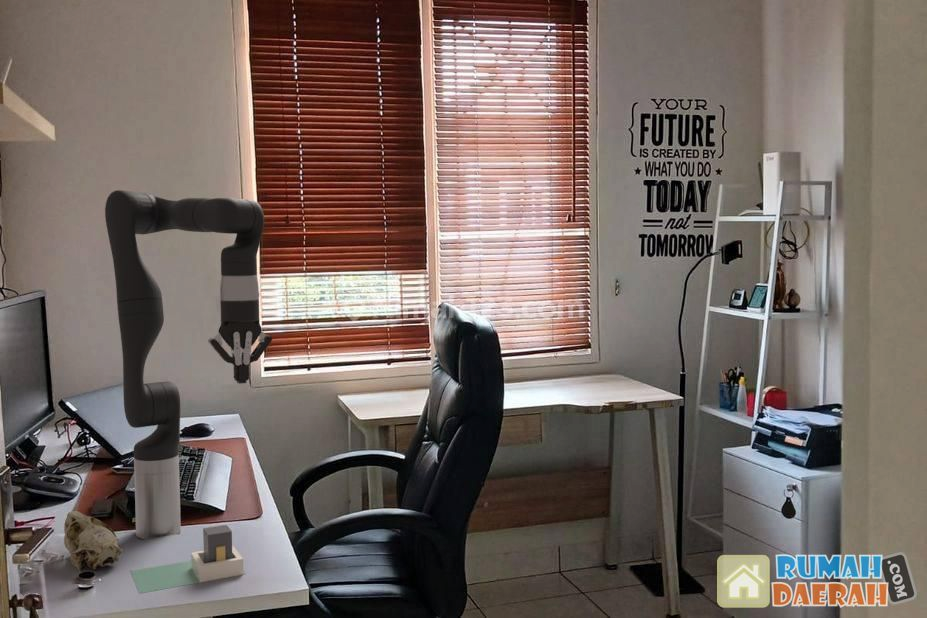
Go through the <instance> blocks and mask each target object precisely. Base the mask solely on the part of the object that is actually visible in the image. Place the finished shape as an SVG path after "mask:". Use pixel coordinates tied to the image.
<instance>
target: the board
mask: <svg viewBox="0 0 927 618" xmlns="http://www.w3.org/2000/svg"><path fill="white" fill-rule="evenodd" d="M130 573H131V576H132V578H133V581H134V584H135V586H136V589H137V591H138V594H139V595H140V594H145V593H151V592H156V591H161V590H167V589H172V588H179V587H182V586H183V587H185V586H189V585H194V584H200V583H201V582H199V580H198V578H197V577H196V575H195V573H194V571H193V570H192V567H191V560H187V561H181V562H175V563H170V564H163V565H158V566H152V567H147V568H140V569H135V570H131V571H130ZM246 574H247V573H246V572H245V571H244V569H243V574H242V575H241V576H244V575H246ZM238 576H239V575H237V576H236V577H238ZM232 577H234V576H232ZM232 577H231V578H232ZM227 578H229V577H226V578H225V579H227ZM221 579H223V578H221ZM221 579H220V580H221ZM215 580H218V579H215ZM215 580H214V581H215ZM211 581H212V580H210V581H209V582H211ZM205 582H207V581H204V582H203V583H205Z"/></svg>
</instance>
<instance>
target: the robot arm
mask: <svg viewBox="0 0 927 618" xmlns="http://www.w3.org/2000/svg"><path fill="white" fill-rule="evenodd" d="M104 207H105V208H104V216H105V224H106V230H107V231H106V232H107V235H108V241H109V245H110V250H111V255H112V261H113V270H114V271H113V272H114V277H115V278H114V279H115V288H116V289H115V290H116V291H115V292H116V304H117V305H116V306H117V316H118V324H119V330H120V332H119V333H120V340H121V352H122V368H123V369H122V372H123V373H122V377H123V378H122V381H123V382H122V385H123V411H124V415H125V419H126V421H127V423H128V425H129V426H130V427H132V428H134V429H138V428H145V427H153V426H157V427H156V429H155V430H154V431H153V432H152V433H151V434H150V435H148V436H147V437H145V438H143V439H141V440H139V441H137V443H135V445H134V446H133V471H134V476H133V477H134V501H135V505H134V506H135V536H136V537H137V538H139V539H143V540H150V539H155V538H162V537H167V536H168V537H169V536H175V535H178V534H179V533H180V532H181V527H182V525H181V491H180V489H181V488H180V459H179V458H180V455H179V450H180V449H179V447H180V440H181V439H180V438H181V396H180V391H179V389H178V387H177V385H176V384H175V383H174V382H173V381H158V382H150V383H149V382H148V383H144V382H145V381H144V372H145V366H146V365H145V364H146V362H147V359H148V356H149V354H150V351H151V349H152V348H153V346H154V344H155V343H156V341H157V338H158V336H159V334H160V332H161V331H162V328H163V326H164V319H165V318H164V316H165V314H164V304H163V297H162V296H163V295H162V291H161V289H160V286H159V284H158V282H157V280H156V278H155V277H154V276H153V274H152V273H151V271H150V269H149V268H148V267H147V266H146V263H145V262H144V261H143V258H142V256H141V254H140V252H139V247H138V243H137V237H136V235H149V234H156V233H159V232H160V233H161V232H165V231H169V230H170V231H171V230H180V231H185V232H195V233H216V234H217V233H219V234H233V235H234V234H235V235H236V237H235V239H234V242H233V244H231V245H228V246H225V247H224V248H222V250H221V252H220V283H219V285H220V287H219V294H220V295H219V296H220V297H219V298H220V326H219V327H218V333H216V334H215V335H214V336H213V337H210V338H209V339H208V344H209V345H210V346H211V347H212V348H213V350H214V351H215V352H216V353H217V354H218V355H219V356H220V357H221V359H223V360H222V361H224V362H226V363H228V364H232V366H233V379H234V381H235V382H236V383H237V384H239V385H240V384H247V381H249V380H250V366H251V365H250V364H252V363H253V362H258V360H260V358H261V356H262V355H263V354H264V352H265V351H266V350H267V348H268V347H269V346H270V344H271V343H272V341H273V337H272V336H270V335H268V334H266V333H265V332H263V328H262V326H261V324H260V301H259V300H260V291H259V288H260V287H259V281H258V280H259V279H258V265H257V261H258V258H257V257H258V251H259V248H260V243H261V239H262V235H263V232H264V228H265V227H264V226H265V214H264V210H263V208H262V206H261V205H260V203H258V201H255V199H248V198H247V199H246V198H233V197H219V198H218V197H216V198H208V197H207V198H206V197H188V198H187V197H186V198H182V199H179V200H170V199H166V198H163V197H159V196H157V195H156V196H155V195H152V194H149V193H146V192H139V191H133V190H132V191H131V190H120V189H119V190H118V189H117V190H113V191H112V192H111V193H110V194H109V195H108V197H107V198H106V202H105V206H104ZM222 340H223V341H224V343H226V345H227V346H228V347H230V352H231V355H230V354H229V353H228V352H227V351H226V350H225V348H224V347H223V346H222V345H223V341H222ZM257 340H258V344H257V345H256V346H255V348H254V349H253V351H252V347H253V346H254V344H255V342H256V341H257Z"/></svg>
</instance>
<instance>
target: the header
mask: <svg viewBox="0 0 927 618" xmlns="http://www.w3.org/2000/svg"><path fill="white" fill-rule="evenodd" d="M190 558H191V560H190V561H191V567H192V570H193V571H194V573H195V575H196V577H197V578H198V580H199V582H200V583H205V582H204V581H206V582H211V581H215V579H217V580H221V578H222V579H227V578H226V577H228V578H232V576H233V577H238V576H243V575H242V574H243V570H244V557H242V556H241V554H240V553H239V551H238V550H237V548H236V547H235V546H234V545H232V559H228V560H222V561H216V562H211V563H205V564H204V550H199V551H192V552H191V553H190ZM237 575H238V576H237ZM210 580H211V581H210Z"/></svg>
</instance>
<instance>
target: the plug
mask: <svg viewBox="0 0 927 618" xmlns="http://www.w3.org/2000/svg"><path fill="white" fill-rule="evenodd" d="M202 530H203V531H202V532H203V533H202V535H203V551H204V564H205V563H211V562H216V561H222V560H228V559H232V546H233V531H232V530H231V529H230V527H229V525H227V524H223V525H222V524H221V525H216V526H209V527H203V529H202Z"/></svg>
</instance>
